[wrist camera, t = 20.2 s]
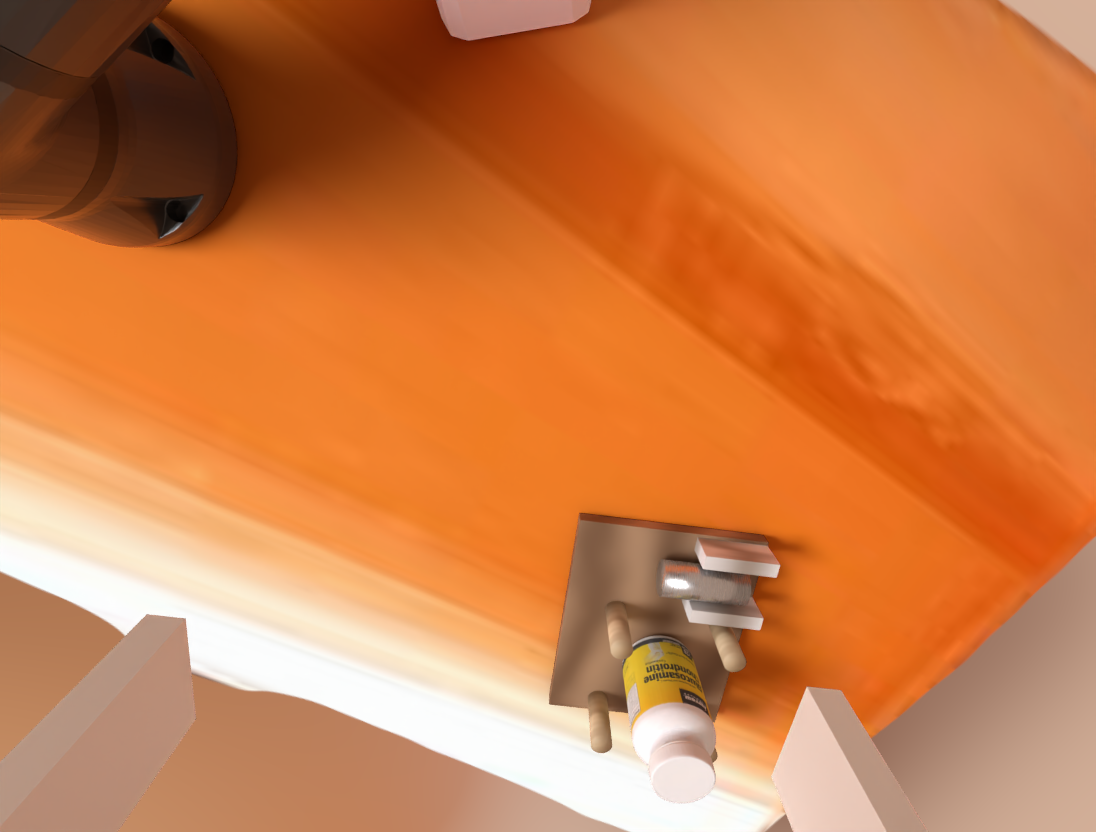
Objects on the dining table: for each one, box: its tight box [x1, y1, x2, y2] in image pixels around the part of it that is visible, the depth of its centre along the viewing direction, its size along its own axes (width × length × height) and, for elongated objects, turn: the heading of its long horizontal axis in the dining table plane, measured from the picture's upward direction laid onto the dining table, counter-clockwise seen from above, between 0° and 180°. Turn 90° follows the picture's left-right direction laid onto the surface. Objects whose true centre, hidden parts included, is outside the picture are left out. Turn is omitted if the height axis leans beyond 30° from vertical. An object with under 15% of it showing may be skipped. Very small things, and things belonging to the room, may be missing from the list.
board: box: [549, 513, 780, 763], centre depth 48 cm, size 16×20×6 cm
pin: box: [656, 559, 751, 606], centre depth 46 cm, size 7×3×3 cm, turn 83°
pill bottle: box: [622, 635, 716, 803], centre depth 45 cm, size 6×6×12 cm
